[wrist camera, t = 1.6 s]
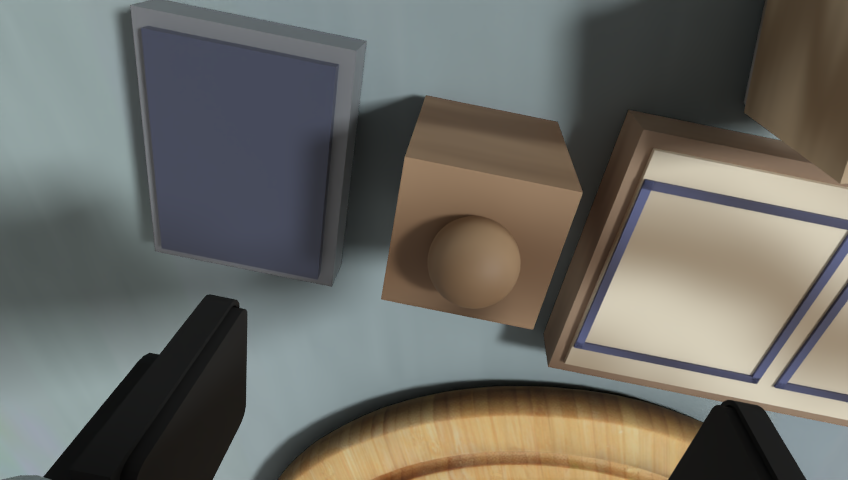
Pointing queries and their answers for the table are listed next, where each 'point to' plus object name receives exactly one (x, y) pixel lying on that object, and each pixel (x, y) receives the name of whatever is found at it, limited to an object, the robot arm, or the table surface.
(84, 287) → the table surface
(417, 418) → the wooden plate with food
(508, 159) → the stamp
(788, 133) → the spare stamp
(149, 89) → the ink pad
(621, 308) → the form board
